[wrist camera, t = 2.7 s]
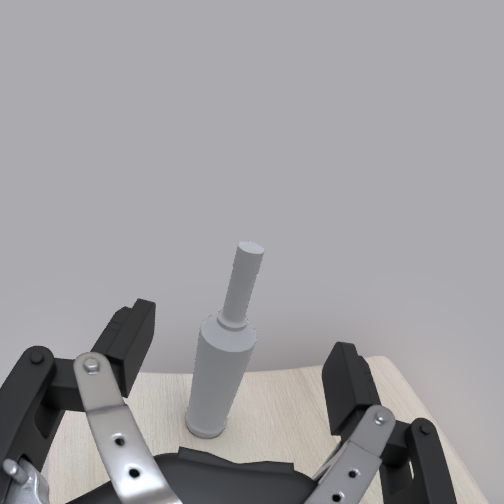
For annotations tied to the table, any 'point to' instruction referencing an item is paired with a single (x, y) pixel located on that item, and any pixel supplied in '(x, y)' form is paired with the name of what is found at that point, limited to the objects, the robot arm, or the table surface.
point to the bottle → (224, 349)
